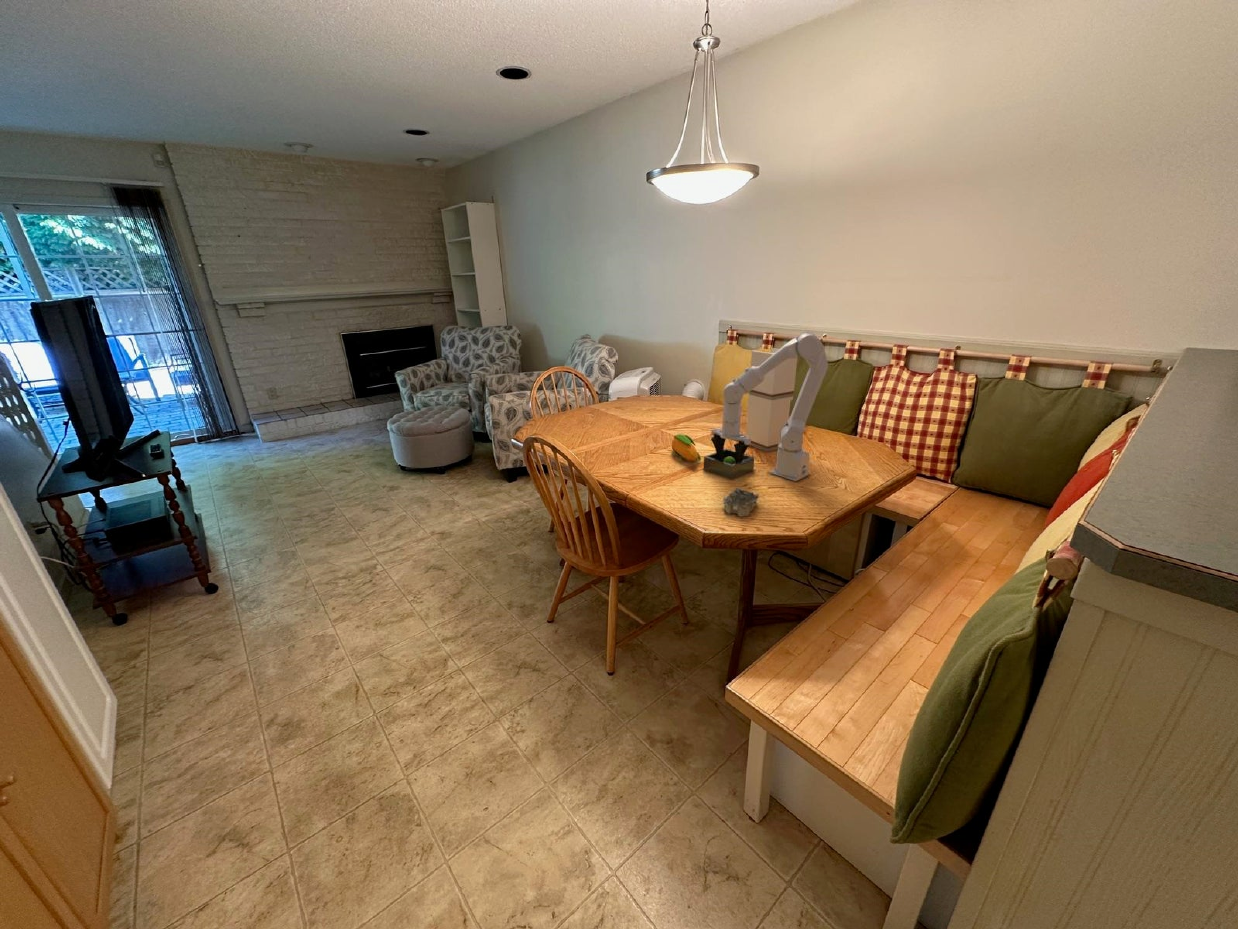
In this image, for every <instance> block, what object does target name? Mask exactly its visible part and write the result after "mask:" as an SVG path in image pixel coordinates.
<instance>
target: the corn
mask: <svg viewBox="0 0 1238 929" xmlns="http://www.w3.org/2000/svg"><path fill="white" fill-rule="evenodd" d="M671 449H672V450H673V452H674V453H675V454H676V455H677V456H678V457H679V458H680V459H682V460H684V461H686V460H687V461H693V462H701V461H702V458H701V455H700V454H699V453H698V451H697V448H696V443H695V441H694V439H692V438H691V437H690V436H688V435H687V434H683V433H681V434H680V433H678V434H675V435H674V436H673V439H672V441H671Z"/></svg>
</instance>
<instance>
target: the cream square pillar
mask: <svg viewBox="0 0 1238 929" xmlns="http://www.w3.org/2000/svg"><path fill="white" fill-rule="evenodd" d="M779 349H780V348H775V347H772V348H771V352H765V351H758V350H751V357H750V359H751V361H750V368H751V367H752V366H755V367H758V366H760V365H761V364H762V363H763V362H765V361H766V360H767V359H768V358H769V357H771V356H772V355H773V354H774V353H775V352H777V351H778V350H779ZM797 355H798V356H799V354H797ZM797 364H798V358H792V359H787V360H785V361H784V362H782V363H781V364H779V365H778V366H777V367H775V368H774V369H772V370H771V371H770V372H768V373H767V374H765V376H764V381H763V382H762V383H760V384H759V385H758V386H756V387H755V388H754V389H752V390H751V391H750V392H748V398H747V413H746V426H745V436H747V437H749V438H751V444H750V445H749V447H753V448H756V449H758V450H761V451H764V452H766V453H768V452H772V451H776V450H778V445H779V444H780V443H781V437H780V430H781V428H782V427H783V426H784V425H785V424H786V423H787V420H788V418H789V417H790V409H791V408H790V407H791V401H794V395H795V394H794V392H795V384H796V375H797V366H798V365H797Z"/></svg>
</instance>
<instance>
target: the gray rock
mask: <svg viewBox="0 0 1238 929" xmlns="http://www.w3.org/2000/svg"><path fill="white" fill-rule="evenodd" d="M759 497H760V495H759V494H754V492H753V491H749V490H745V489H742V488H739V487H735V489H734V490H733V491H731V492H730V493H728V495H727V496H725V497H723V499H722V503H723V505H724V507H723V510H724V511H725V512H726V513H727V514H736V515H738V517H747V516H748V517H749V514H750V512H752V511H753V509H754V507H757V506H758V499H760V498H759Z"/></svg>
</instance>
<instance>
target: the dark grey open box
mask: <svg viewBox="0 0 1238 929" xmlns="http://www.w3.org/2000/svg"><path fill="white" fill-rule="evenodd" d="M729 456H730V457H733V458H734V459H736V452H735V450H732V449H729V448H724V452H723V457H720V458H717V453H716V451H715V452H713V453H710V454H707V455H704V456H703V470H705V471H708V472H710V473H712V474H716V475H718V476H721V477H724V478H727V479H729V480H733V479H735V478H738V477H740V476H742V475H743V476H744V475H746V474H747V473H749V472H752V471H754V467H755V456H753V455H749V454H746V453H744V456H743V458H742V461H740V462H737V463H735V464H732V465H731V464H728V463H725V462H723V461H724V459H725V458H726V457H729Z"/></svg>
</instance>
